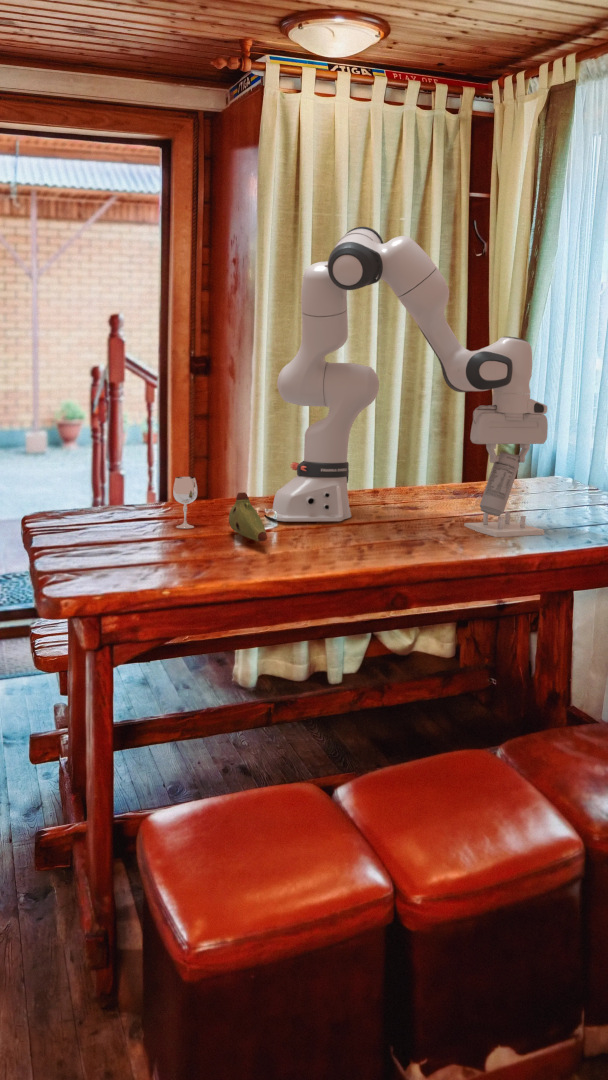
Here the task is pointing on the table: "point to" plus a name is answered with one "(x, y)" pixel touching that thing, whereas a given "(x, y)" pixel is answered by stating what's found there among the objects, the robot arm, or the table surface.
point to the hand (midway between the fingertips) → (507, 462)
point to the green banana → (246, 519)
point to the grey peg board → (504, 527)
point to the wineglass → (185, 494)
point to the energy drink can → (499, 484)
